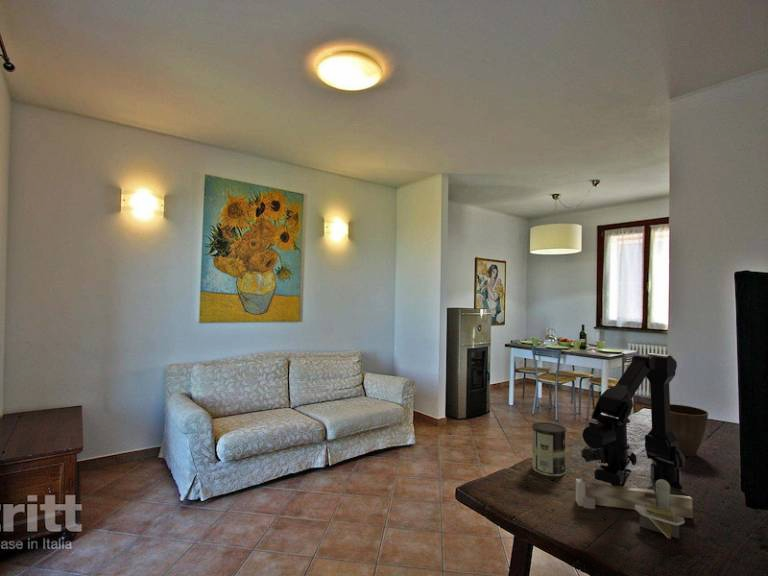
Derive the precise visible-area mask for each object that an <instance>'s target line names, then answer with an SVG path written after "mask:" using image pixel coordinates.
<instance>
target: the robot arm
mask: <svg viewBox="0 0 768 576" xmlns="http://www.w3.org/2000/svg"><path fill="white" fill-rule="evenodd" d="M677 368H678V363H677V361H676V359H675V358H674V357H673V356H672V355H670V354H661V353H660V354H659V353H653V352H652V353H651V352H648V353H646V354H639V353H638V354H634V355H633V356H632V357H631V362H630V363H629V365H628V366H627V368H626V369H625V371H624V372H623V373H622V375H621V377H619V380H618V381H617V382H616V384H615V385H614V386H612V387H610V388H607V389H606V390H605V391H604V392H603V393H602V394H600V396H599V397H598V400H597V402H596V404H595V407H594V409H593V412H592V415H591V419H592V420H593V421H589V422H588V424H589V425H588V426H586V427H585V428H584V429H583V431H582V439H583V442H584V443H585V444H586V446H584V447H583V448H582V449H581V451H580V452H581V456H580V457H581V458H583V459H584V460H585V462H586V463H590V462H593V461H600V464H601V463H602V464H601V465H599V466H598V467H597V468H596V469H595V470H594V479H595V480H597V481H600V482H602V483H603V482H604V483H607V484H609V485H615V486H623V487H626V486H625V485H626V483H627V481H628V479H629V477H630V475H631V472H632V470H631V469H629V468H628V469H627V467H628V466H629V464H630V463H631V466H635V465H636V464H637V461H638V460H637V455H636V454H635V453H634V452H633V451H629V449H630V443H628V430H627V429H628V427H627V426H628V425H627V424H629V423H631V420H630V418H629V416H630V415H631V413H632V410H633V408H634V402H633V398H634V395H635V394H636V393H637V391H638V389H639V388H640V387H641V384H642V383H643V382H644V380H645V379H647V380H648V382H649V388H650V391H649V392H650V413H651V414H650V415H651V417H650V418H651V429H650V430H649V432H648V433H647V434H645V436H644V449H645V454H646V459H649V460H651V462H652V463H650V475H649V477H650V478H651V479H652V480H653V481H654V482H655V483H656V481H657V480H659V479H663V480H665V481H667V482H668V483H669V485H670V487H676V488H683V485H682V484H681V483H680V481H681V480H680V479H681V478H680V471H681V470H680V469H684V468H685V464H686V459H687V458H686V456H684V455H683V454H682V452H681V450H680V449H679V445H678V440H677V438H676V437H675V435H674V434H673V432H672V431H671V417H670V404H671V397H670V396H671V394H670V393H671V392H670V383H671V382H672V380H673V378H674V377H676V371H677ZM603 464H604V465H603ZM605 464H607V465H605Z"/></svg>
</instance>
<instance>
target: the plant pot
mask: <svg viewBox="0 0 768 576" xmlns="http://www.w3.org/2000/svg"><path fill="white" fill-rule="evenodd" d="M670 417H671V431H672V432H673V434H674V435H675V437H676V438H677V440H678V445H679V449H680V450H681V452H682V454H683V455H684V457H695V456H696V455H697V454H698V451H699V449H700V446H701V445H702V442H703V438H704V435H705V432H706V428H707V422H708V419H709V412H708V411H707V410H704V409H702V408H699V407H698V408H697V407H694V406H688V405H683V404H671V403H670Z"/></svg>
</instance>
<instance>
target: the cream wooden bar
mask: <svg viewBox="0 0 768 576" xmlns="http://www.w3.org/2000/svg"><path fill="white" fill-rule="evenodd" d="M585 497H591V498H594V499H595V506H601V507H602V506H603V507H604V506H605V507H611V508H619V509H626V510H627V509H628V510H635V505H640V506H643V507H646V503H648V505H649V506H650V507H652V505H655V506H656V491H654V490H653V489H649V488H647V489H646V488H640V487H632V486H624V487H623V486H615V485H611V484H604V483H597V482H588V481H587V482H586V481H585ZM650 504H652V505H650ZM648 505H647V506H648ZM649 506H648V507H647V508H650V507H649ZM650 509H651V508H650ZM635 511H636V510H635Z"/></svg>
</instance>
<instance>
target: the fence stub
mask: <svg viewBox="0 0 768 576" xmlns="http://www.w3.org/2000/svg"><path fill="white" fill-rule="evenodd" d="M672 510H673V511H672ZM674 511H675V516H679V517H682V518H687V519H688V518H689V519H693V517H694V516H693V498H692V497H691V496H687V495H681V494H680V495H679V494H671V493H670V513H673V514H674Z"/></svg>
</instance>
